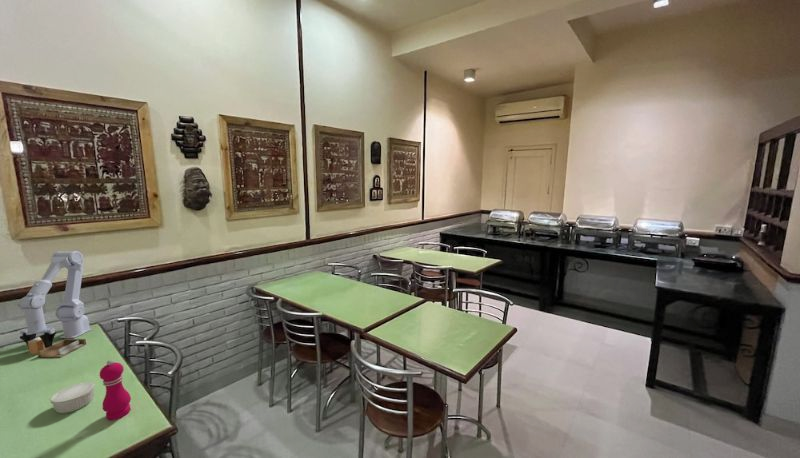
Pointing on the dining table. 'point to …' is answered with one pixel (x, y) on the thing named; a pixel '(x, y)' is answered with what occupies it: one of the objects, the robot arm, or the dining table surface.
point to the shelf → (62, 348)
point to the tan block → (36, 345)
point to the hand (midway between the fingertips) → (40, 347)
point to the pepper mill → (114, 391)
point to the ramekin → (73, 397)
